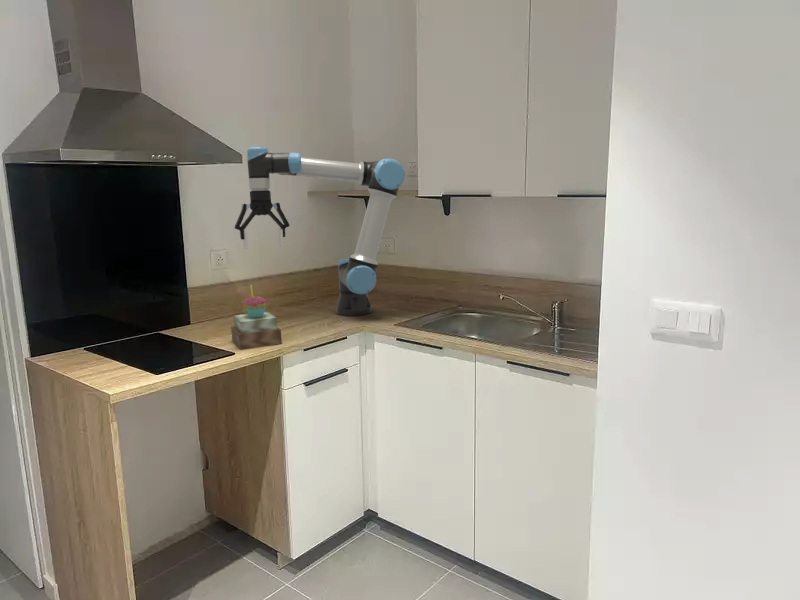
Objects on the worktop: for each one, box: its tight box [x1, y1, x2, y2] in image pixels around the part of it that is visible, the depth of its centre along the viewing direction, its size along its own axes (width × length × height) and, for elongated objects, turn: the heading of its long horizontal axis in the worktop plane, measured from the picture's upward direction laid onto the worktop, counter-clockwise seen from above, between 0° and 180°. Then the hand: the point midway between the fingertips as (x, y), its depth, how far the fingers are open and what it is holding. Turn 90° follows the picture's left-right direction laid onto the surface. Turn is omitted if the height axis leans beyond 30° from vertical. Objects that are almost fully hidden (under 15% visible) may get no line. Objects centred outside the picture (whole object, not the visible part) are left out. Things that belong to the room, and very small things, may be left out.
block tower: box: [230, 311, 283, 350], centre depth 199 cm, size 14×14×9 cm
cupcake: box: [242, 282, 269, 318], centre depth 198 cm, size 9×8×12 cm
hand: (263, 247), depth 218 cm, fingers open, 13 cm apart
